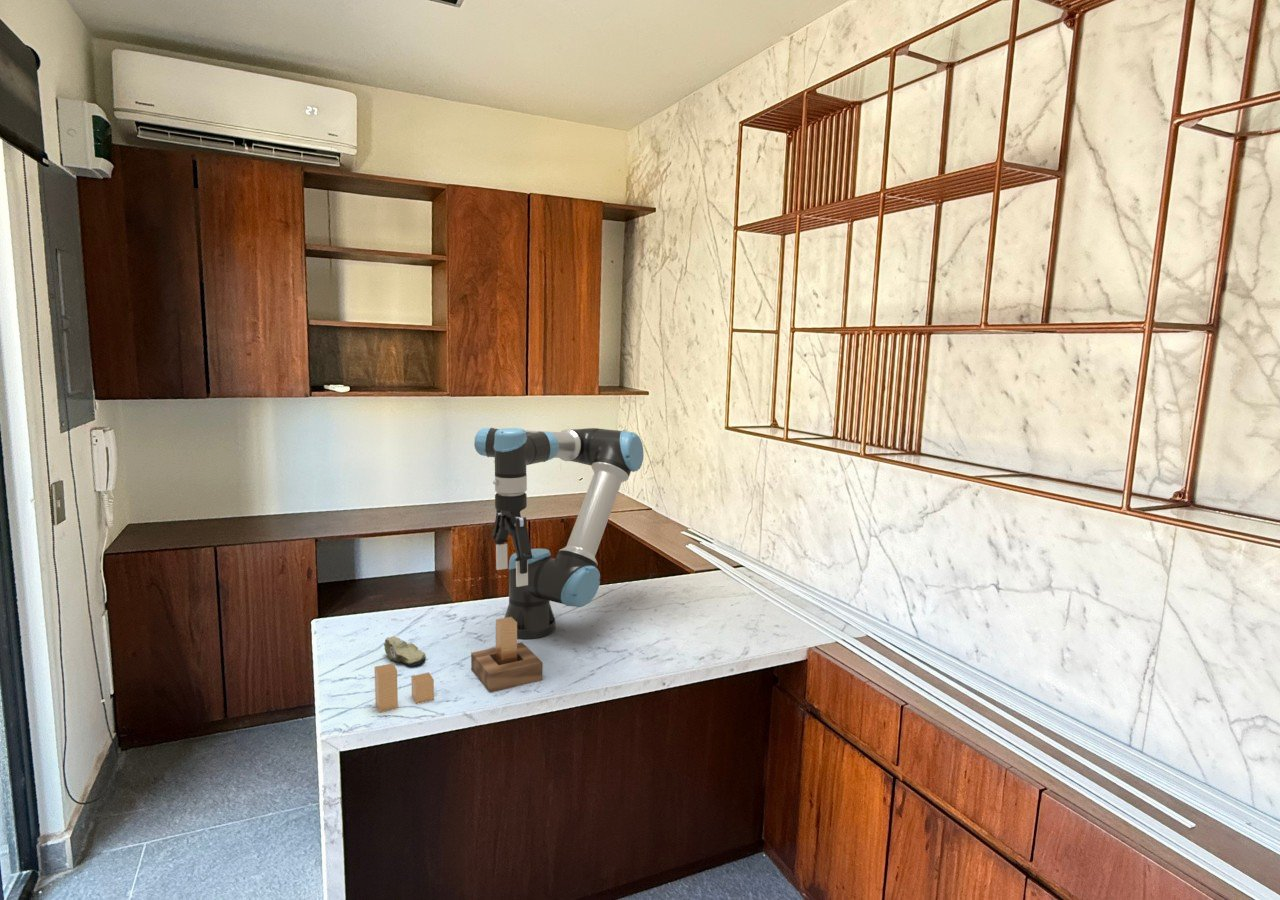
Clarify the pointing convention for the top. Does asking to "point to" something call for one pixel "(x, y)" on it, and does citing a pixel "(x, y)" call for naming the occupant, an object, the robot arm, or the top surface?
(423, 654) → the rock
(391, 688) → the medium pin
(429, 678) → the short pin
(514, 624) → the long pin
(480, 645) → the top surface
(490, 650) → the hole block
